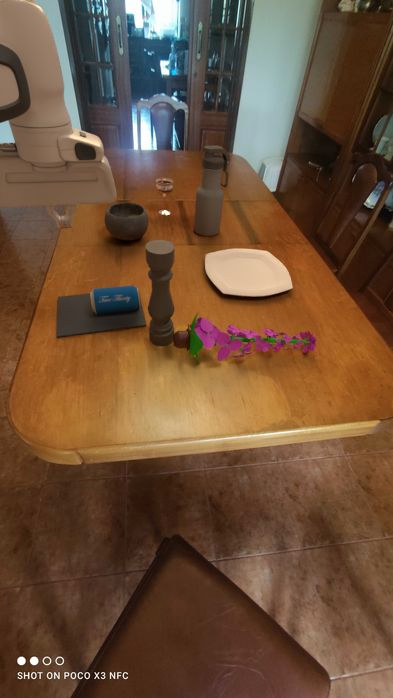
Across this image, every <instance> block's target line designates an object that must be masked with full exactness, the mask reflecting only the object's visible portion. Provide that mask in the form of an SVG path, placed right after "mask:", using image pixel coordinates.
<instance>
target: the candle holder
mask: <svg viewBox="0 0 393 698" xmlns="http://www.w3.org/2000/svg"><path fill="white" fill-rule="evenodd" d="M144 248H145V261H146V264H147V266H148V268H149V270H148V272H147V277H148V278H149V280H150V281H151V293H150V297H149V301H148V306H147V312H148V315H149V317H150V318H151V320H150V321H149V326H148V338H149V342H150V343H151V344H152V345H153V346H156V347H160V348H161V347H162V348H163V347H168V346H169V345H171V344H173V335H174V333H175V327H174V322H173V319H172V317H173V315H174V313H175V305H174V301H173V296H172V294H171V280H172V279H173V277H174V273H173V272H174V271H173V270H171V269H172V268H173V266H174V264H175V256H176V255H175V253H176V247H175V244H174V243H173V242H172V241H169V240H166V239H153V240H150V241H148V242H147V243H146V244H145V247H144Z"/></svg>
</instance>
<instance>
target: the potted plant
mask: <svg viewBox="0 0 393 698" xmlns="http://www.w3.org/2000/svg"><path fill="white" fill-rule="evenodd" d="M198 313H199V312H198V311H197V312H196V314H195V316H194V317H193V319H192V321H191V323H188V324H187V328H186V330H177V331H175V332H174V335H173V342H172V344H173V346H174V347H175V348H177V349H185V350H186V351H187V352H188V351H189V355H190V356H191V357H195V359H196V360H197V362H198V364H200V359H199V354H198V353H199V352H200V351H201V350H202V349H203V347H204V348H205V349H206V350H209V349H211V348H213V347H217V345H218V346H220V348H219V349H218V350H217V353H216V359H217V360H218V361H223V360H226V359H227V358H229V356H230V355H231V353H232V352H236V351H238V350H240V352H241V354H237V355H233V356H232V358H236V359H238V358H244V357H246V356H249V355H251V354H253V353H255V352H256V351H261V350H262V352H265V353H267V352H268V351H269V349H271V350H273V352H274V353H277V352H279V351H280V350H281V349H283V351H284V350H285V351H287V350H290V349H298V348H300V347H301V346H302V345H303V346H304V347H303V348H302V350H301V352H302V353H307V352H313V351H314V350H315V349H316V346H317V343H316V342H317V338H316V337H315V336H314V333H313V332H312V333H311V332H310V331H309V329H307V331H305V332H303V331H300V332H299V335H298V334H295V335H293V336H292V337H290V336H289V335H288V334H287V333H285V332H275V331H274V329H272V328H270V329H268V328H264V329H263V330H261V333H263V334H264V335H266V337H262V336H260V335H259V333H258V332H256V331H253V330H250V329H242V330H241V329H240V328H237V327H236V326H234V325H233V324H229V325H228V326H227V327H226V328H225V329H226V332H224V331H221V330H220V329H219V328H218V327H217V326H216V325H214V324H213V323H212V322H211V321H210V320H209V319H208V318H204V317H201V316H199V317H198ZM279 335H280V336H281V338H279ZM245 343H246V344H245ZM253 343H256V345H255V350H256V351H251V349H252V345H253ZM288 344H292V345H291V346H290V347H289V346H288ZM242 346H243V348H242ZM285 346H286V348H285ZM250 351H251V352H250Z"/></svg>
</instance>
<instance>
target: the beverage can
mask: <svg viewBox="0 0 393 698" xmlns="http://www.w3.org/2000/svg"><path fill="white" fill-rule="evenodd" d="M138 291H139V287H138V286H135V285H123V286H110V287H100V288H93V289H92V290H91V291H90V292H89V294H90V296H91V304H92V309H93V311H94V312H95V313H96V314H102V313H112V312H121V311H131V310H136V309H137V308H140V299H141V298H140V299H139V295H140V291H139V292H138Z"/></svg>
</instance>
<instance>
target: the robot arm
mask: <svg viewBox="0 0 393 698" xmlns="http://www.w3.org/2000/svg"><path fill="white" fill-rule="evenodd" d="M4 122H8V125H9V127H10V128H9V129H10V130H11V135H12V138H13V141H14V142H0V207H1V208H5V209H6V208H26V207H27V208H29V207H44V208H45V212H46V213H47V214H48V215H49V216H50V217H51V218H52V219H53V220H54V221H55V224H56V228H57V229H58V230H60V229H74V228H75V223H74V217H75V215H76V212H77V205H79V206H80V205H104V204H115V201H117V199H118V194H117V187H116V183H115V179H114V175H113V171H112V168H111V165H110V162H109V159H108V157H106V155H105V149H104V144H103V142H102V140H101V138H100V136H98V135H96V134H93V133H90V132H87V131H84V130H81V129H78V128H75V127H73V124H72V120H71V117H70V114H69V111H68V109H67V106H66V102H65V81H64V75H63V71H62V66H61V61H60V56H59V52H58V49H57V44H56V40H55V37H54V34H53V30H52V27H51V24H50V21H49V19H48V16H47V14H46V13H45V11H44V9H43V8H42V7H41V6H40V4H38V3H37V2H36V1H34V0H0V124H2V123H4ZM56 206H66V207H67V210H68V211H69V212H68V214H67V215H60V214H58V213H57V211H56V210H55V207H56Z"/></svg>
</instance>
